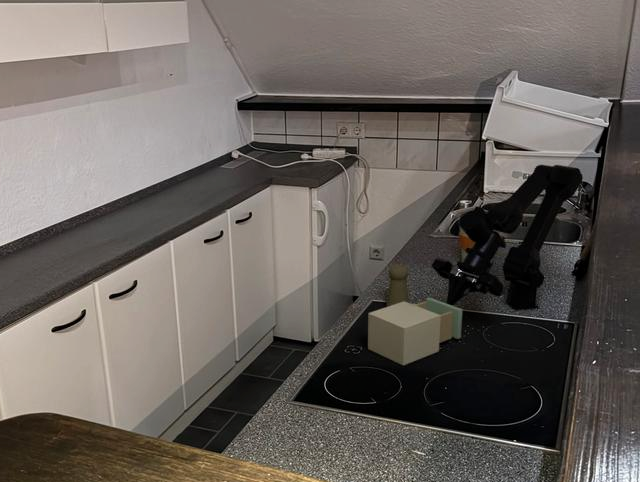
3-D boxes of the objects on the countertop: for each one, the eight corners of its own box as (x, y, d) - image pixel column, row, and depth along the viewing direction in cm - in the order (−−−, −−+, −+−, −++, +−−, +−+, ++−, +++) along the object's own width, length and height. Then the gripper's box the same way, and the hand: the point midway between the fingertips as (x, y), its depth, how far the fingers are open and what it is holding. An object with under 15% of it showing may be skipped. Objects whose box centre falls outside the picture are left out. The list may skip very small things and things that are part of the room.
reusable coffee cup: (449, 265, 234) (452, 217, 228) (464, 254, 243) (467, 208, 238) (489, 271, 227) (493, 222, 222) (503, 259, 237) (507, 213, 231)
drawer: (431, 323, 190) (432, 296, 187) (464, 336, 182) (466, 308, 179) (397, 335, 183) (398, 307, 181) (430, 349, 176) (431, 320, 173)
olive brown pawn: (408, 309, 201) (409, 270, 197) (385, 308, 202) (386, 269, 198) (409, 301, 207) (410, 262, 203) (387, 300, 208) (388, 262, 204)
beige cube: (403, 336, 185) (404, 301, 182) (438, 351, 177) (440, 315, 173) (367, 349, 179) (368, 313, 176) (403, 365, 170) (404, 328, 167)
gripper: (526, 279, 184) (493, 333, 182) (466, 260, 198) (434, 310, 196) (508, 254, 176) (473, 310, 174) (447, 237, 190) (414, 288, 188)
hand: (448, 305), depth 183 cm, fingers closed
